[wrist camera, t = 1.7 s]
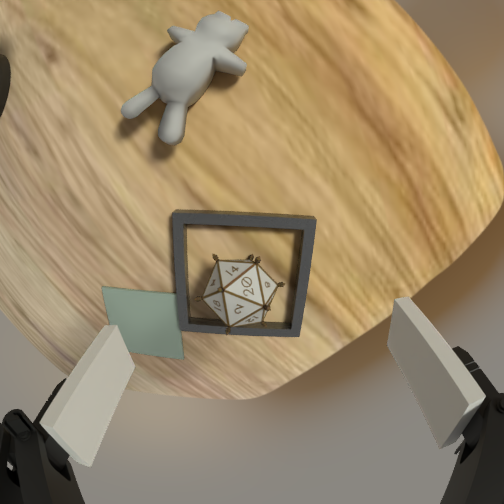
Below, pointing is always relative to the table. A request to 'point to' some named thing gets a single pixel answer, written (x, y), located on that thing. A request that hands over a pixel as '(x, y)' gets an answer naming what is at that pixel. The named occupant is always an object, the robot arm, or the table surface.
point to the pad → (146, 320)
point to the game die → (239, 292)
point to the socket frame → (252, 221)
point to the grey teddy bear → (190, 71)
